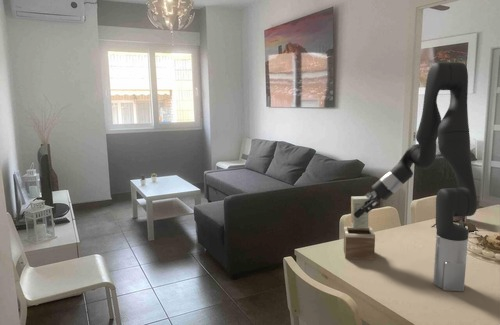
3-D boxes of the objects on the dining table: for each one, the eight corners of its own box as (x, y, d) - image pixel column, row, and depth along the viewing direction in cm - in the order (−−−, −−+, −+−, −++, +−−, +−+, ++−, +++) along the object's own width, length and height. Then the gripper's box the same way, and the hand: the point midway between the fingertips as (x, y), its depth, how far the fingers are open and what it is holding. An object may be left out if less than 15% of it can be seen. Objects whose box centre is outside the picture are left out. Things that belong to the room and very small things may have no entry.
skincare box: (366, 224, 150) (367, 195, 148) (368, 228, 146) (369, 198, 144) (350, 224, 151) (350, 195, 149) (352, 228, 147) (352, 198, 145)
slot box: (374, 260, 144) (375, 235, 143) (345, 258, 146) (345, 234, 145) (370, 249, 154) (371, 227, 153) (343, 248, 156) (344, 226, 154)
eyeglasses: (478, 236, 167) (478, 226, 167) (446, 238, 167) (447, 227, 166) (458, 226, 182) (458, 216, 181) (429, 227, 181) (429, 217, 180)
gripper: (377, 175, 151) (346, 203, 155) (383, 183, 137) (349, 213, 141) (390, 188, 151) (359, 215, 155) (398, 197, 137) (363, 227, 141)
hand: (354, 214), depth 148 cm, fingers closed on skincare box, 4 cm apart
